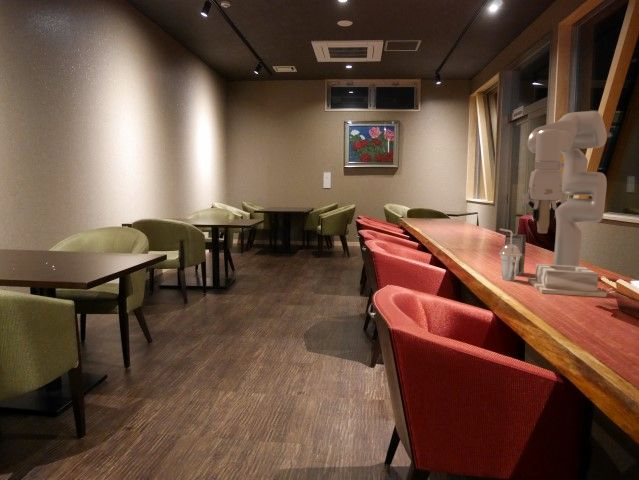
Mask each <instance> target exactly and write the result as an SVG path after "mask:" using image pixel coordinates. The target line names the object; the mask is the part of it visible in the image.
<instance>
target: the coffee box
mask: <svg viewBox="0 0 639 480" xmlns="http://www.w3.org/2000/svg"><path fill="white" fill-rule="evenodd" d="M510 236H511V233H509V234H507V235H505V243H504V246H505V245H507V244H510ZM526 243H527V234H520V233H519V234H518V233H513V235H512V244H513V245H516V246H517V247H518V248H519V250H520V253H522V256H520V259H519V262H518V266H517V271H516V276H520V275H522V274H524V272H525V262H526V261H525V258H526Z"/></svg>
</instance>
